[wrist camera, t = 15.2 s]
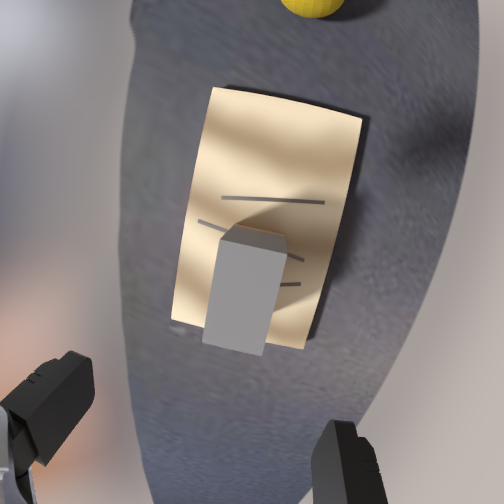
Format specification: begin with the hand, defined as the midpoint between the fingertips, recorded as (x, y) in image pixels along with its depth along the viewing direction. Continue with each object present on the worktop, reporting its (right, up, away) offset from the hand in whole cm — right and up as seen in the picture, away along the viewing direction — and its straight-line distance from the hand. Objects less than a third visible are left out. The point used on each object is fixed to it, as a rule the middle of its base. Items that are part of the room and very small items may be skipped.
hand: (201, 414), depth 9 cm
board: (+2, +8, +17) cm, 18 cm away
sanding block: (+2, +4, +16) cm, 17 cm away
